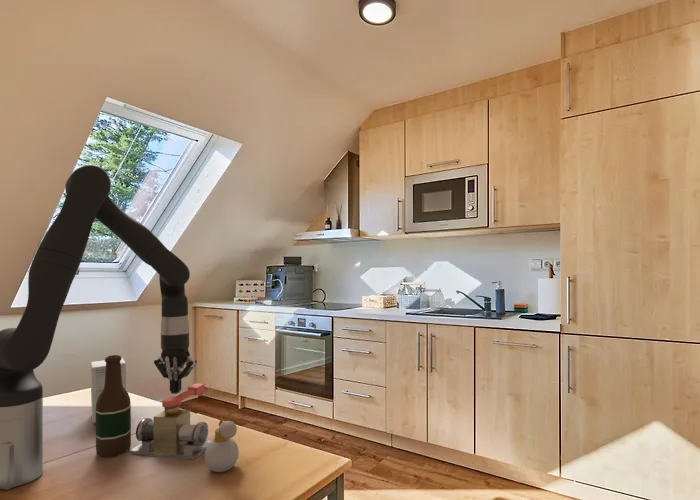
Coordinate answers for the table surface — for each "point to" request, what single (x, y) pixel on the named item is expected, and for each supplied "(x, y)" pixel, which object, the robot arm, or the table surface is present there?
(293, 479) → the table surface
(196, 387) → the lever
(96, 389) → the supplement box
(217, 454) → the perfume bottle
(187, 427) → the valve
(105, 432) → the beer bottle
